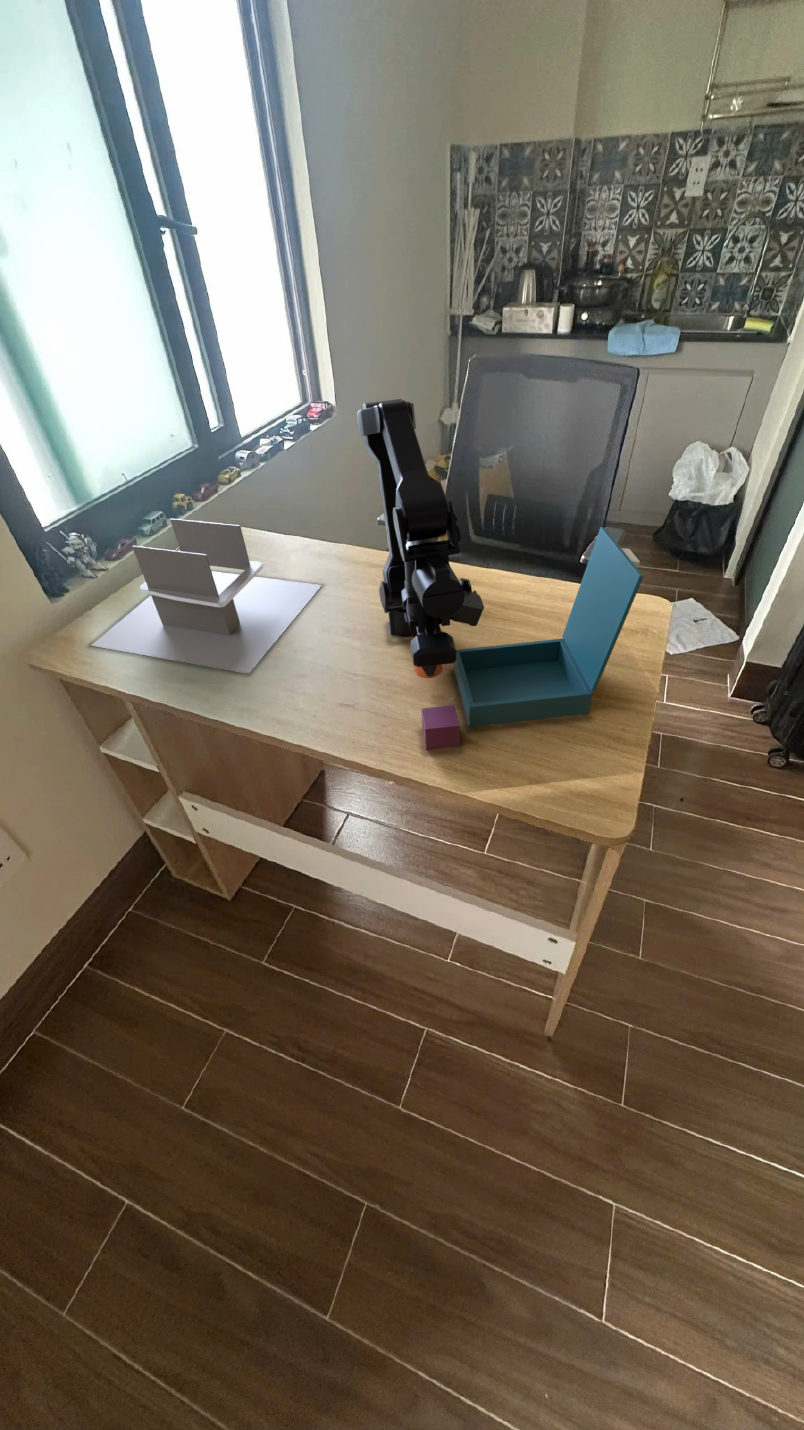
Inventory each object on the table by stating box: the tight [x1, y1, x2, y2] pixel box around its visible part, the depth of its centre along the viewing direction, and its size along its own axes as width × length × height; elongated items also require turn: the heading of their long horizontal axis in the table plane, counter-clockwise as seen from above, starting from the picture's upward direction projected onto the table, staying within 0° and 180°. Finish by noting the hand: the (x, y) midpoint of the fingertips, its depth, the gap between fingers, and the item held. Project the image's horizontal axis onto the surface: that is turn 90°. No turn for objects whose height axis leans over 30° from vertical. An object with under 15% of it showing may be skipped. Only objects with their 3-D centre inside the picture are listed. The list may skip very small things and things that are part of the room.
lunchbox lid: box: [562, 526, 644, 693], centre depth 88 cm, size 19×15×3 cm
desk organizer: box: [90, 518, 322, 675], centre depth 115 cm, size 31×35×17 cm
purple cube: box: [420, 704, 461, 751], centre depth 89 cm, size 5×5×5 cm
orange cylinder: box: [413, 664, 444, 679], centre depth 96 cm, size 5×5×5 cm
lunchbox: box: [453, 637, 593, 728], centre depth 96 cm, size 19×15×5 cm
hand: (428, 666), depth 97 cm, fingers closed on orange cylinder, 4 cm apart
